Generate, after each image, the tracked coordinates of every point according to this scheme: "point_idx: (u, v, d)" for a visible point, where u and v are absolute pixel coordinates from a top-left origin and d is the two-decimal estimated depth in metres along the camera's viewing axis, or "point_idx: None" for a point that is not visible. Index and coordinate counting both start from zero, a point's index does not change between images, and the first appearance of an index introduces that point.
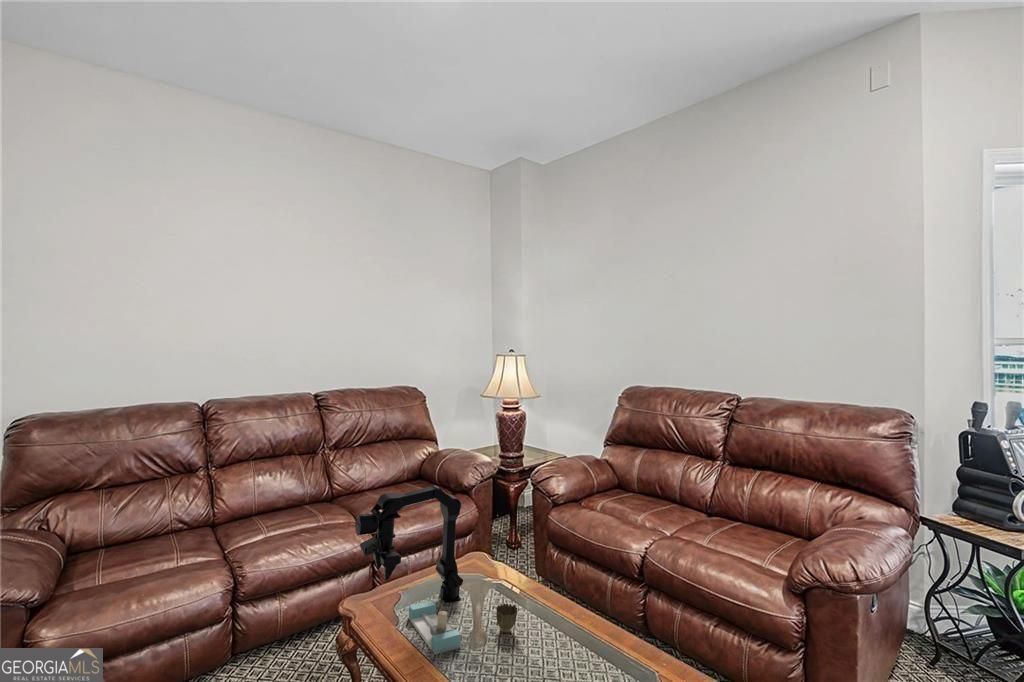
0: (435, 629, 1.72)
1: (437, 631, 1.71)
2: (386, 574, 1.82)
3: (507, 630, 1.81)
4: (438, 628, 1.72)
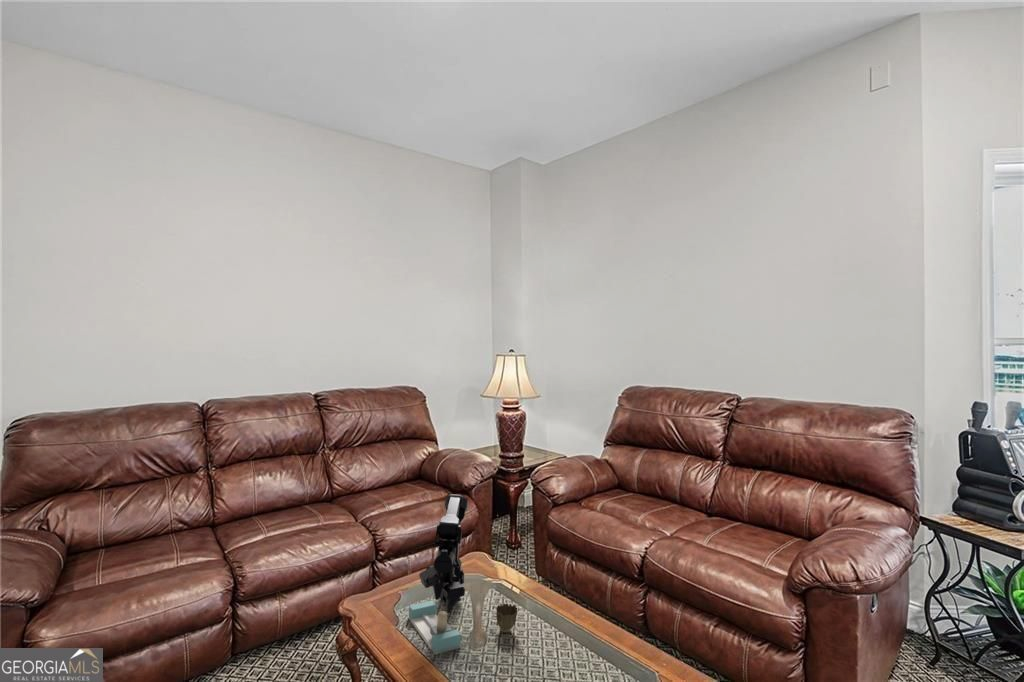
0: (435, 629, 1.72)
1: (437, 631, 1.71)
2: (448, 607, 1.68)
3: (507, 630, 1.81)
4: (438, 628, 1.72)
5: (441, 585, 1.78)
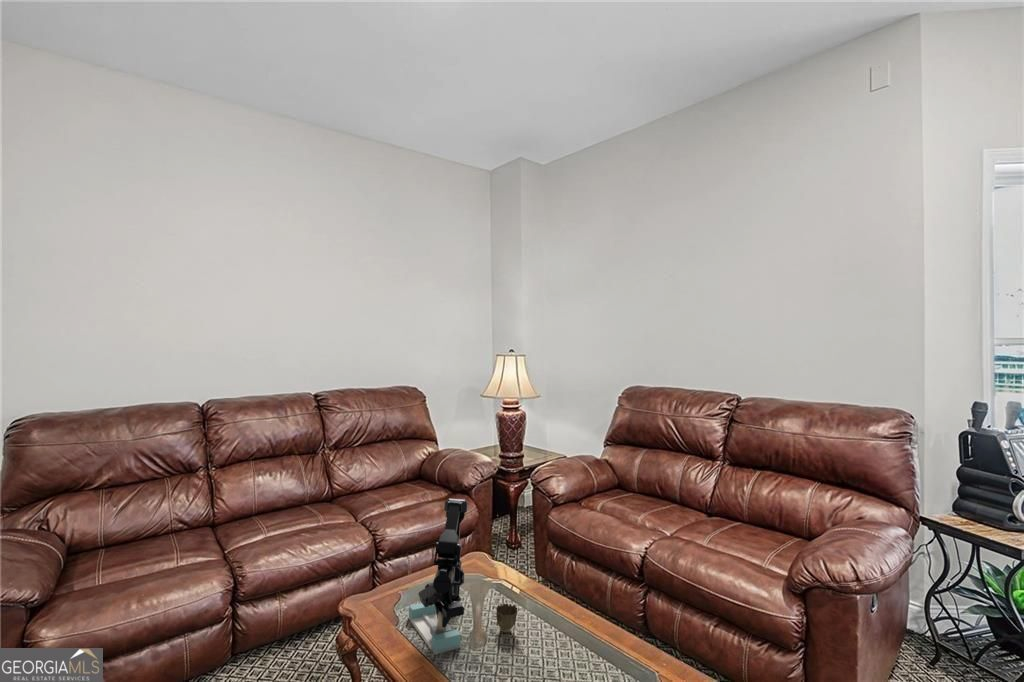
0: (435, 629, 1.72)
1: (437, 631, 1.71)
2: (444, 621, 1.71)
3: (507, 630, 1.81)
4: (438, 628, 1.72)
5: None
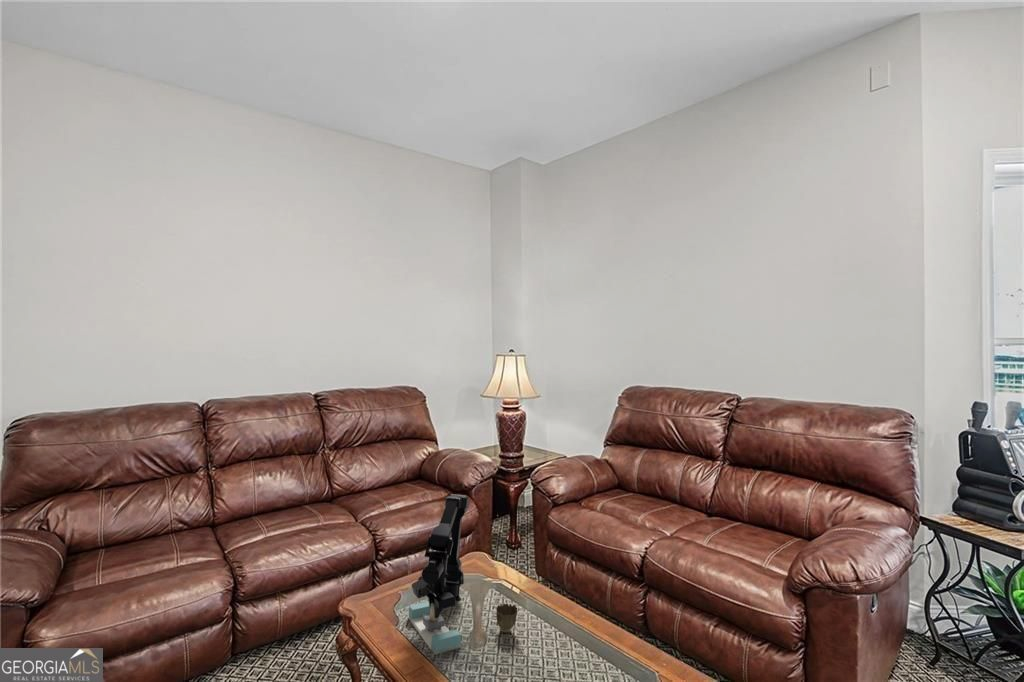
0: (428, 620, 1.78)
1: (430, 622, 1.77)
2: (436, 612, 1.76)
3: (507, 630, 1.81)
4: (431, 619, 1.77)
5: None
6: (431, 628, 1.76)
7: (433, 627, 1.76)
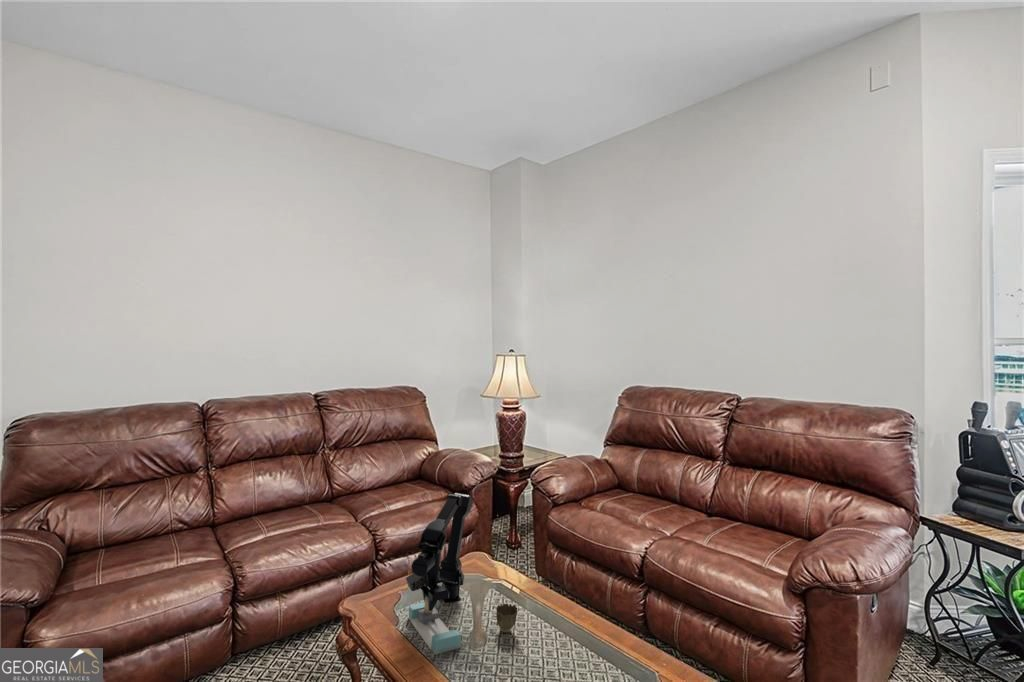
0: (422, 612, 1.82)
1: (424, 614, 1.81)
2: (430, 605, 1.80)
3: (507, 630, 1.81)
4: (425, 611, 1.82)
5: None
6: (425, 620, 1.80)
7: (427, 619, 1.81)
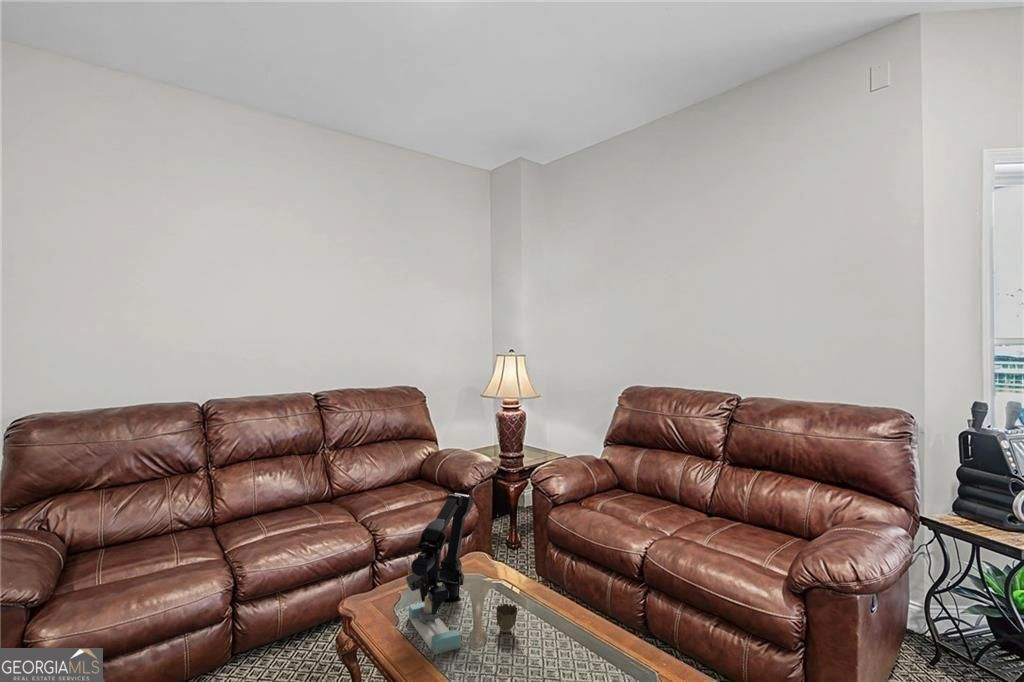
0: (422, 612, 1.82)
1: (424, 614, 1.81)
2: (433, 609, 1.78)
3: (507, 630, 1.81)
4: (425, 611, 1.82)
5: (427, 588, 1.88)
6: (425, 620, 1.80)
7: (427, 619, 1.81)
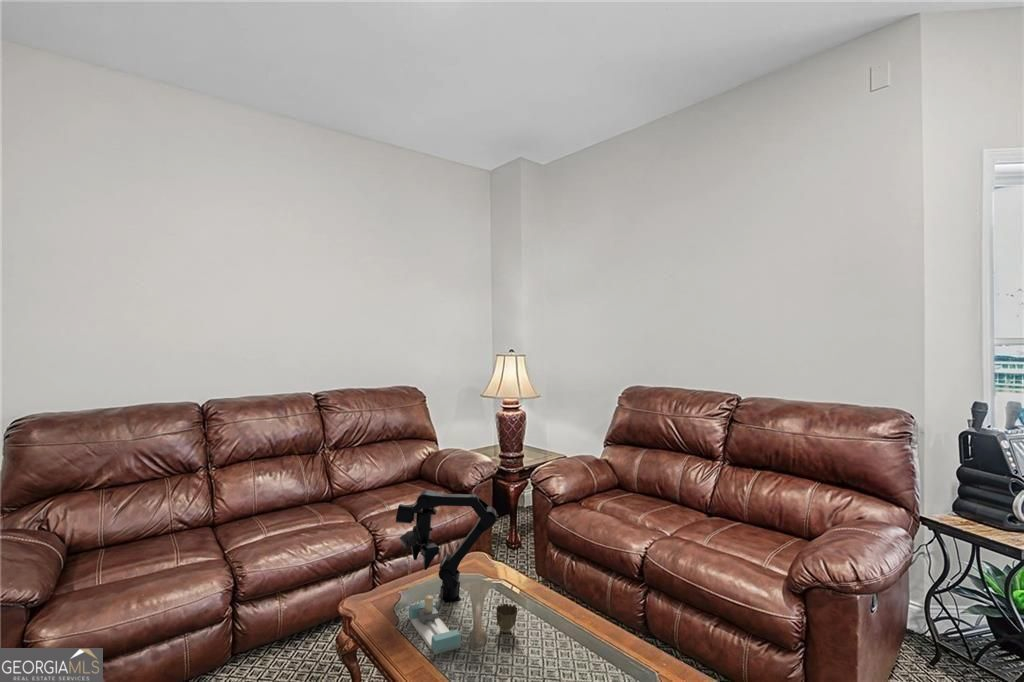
0: (422, 612, 1.82)
1: (424, 614, 1.81)
2: (425, 564, 1.97)
3: (507, 630, 1.81)
4: (425, 611, 1.82)
5: (418, 547, 2.06)
6: (425, 620, 1.80)
7: (427, 619, 1.81)
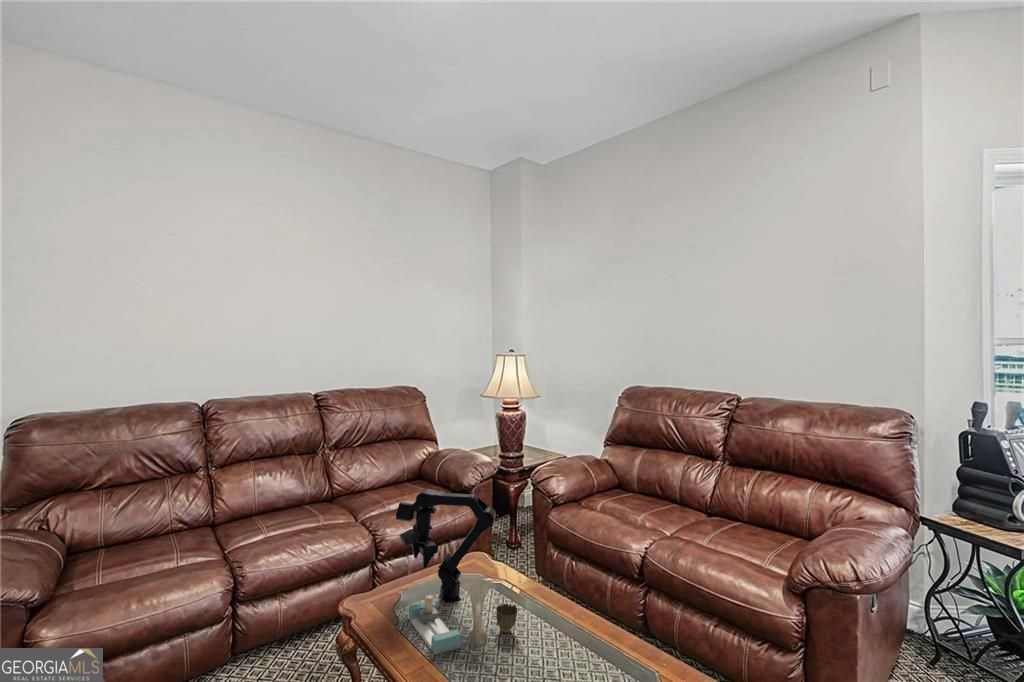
0: (422, 612, 1.82)
1: (424, 614, 1.81)
2: (424, 562, 1.99)
3: (507, 630, 1.81)
4: (425, 611, 1.82)
5: (419, 546, 2.08)
6: (425, 620, 1.80)
7: (427, 619, 1.81)
